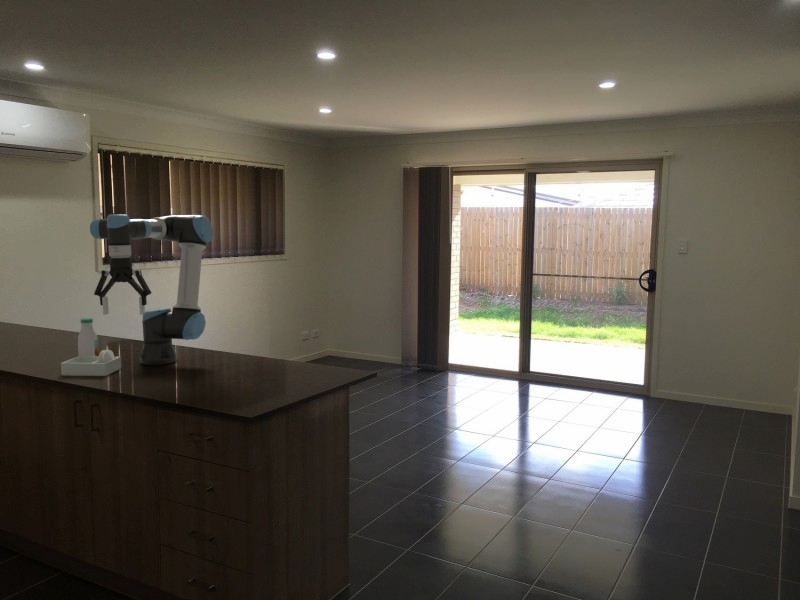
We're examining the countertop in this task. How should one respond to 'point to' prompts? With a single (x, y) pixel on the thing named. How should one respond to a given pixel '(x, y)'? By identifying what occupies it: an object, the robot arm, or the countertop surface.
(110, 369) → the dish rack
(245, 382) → the countertop surface
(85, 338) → the milk bottle
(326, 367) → the countertop surface
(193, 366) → the countertop surface
